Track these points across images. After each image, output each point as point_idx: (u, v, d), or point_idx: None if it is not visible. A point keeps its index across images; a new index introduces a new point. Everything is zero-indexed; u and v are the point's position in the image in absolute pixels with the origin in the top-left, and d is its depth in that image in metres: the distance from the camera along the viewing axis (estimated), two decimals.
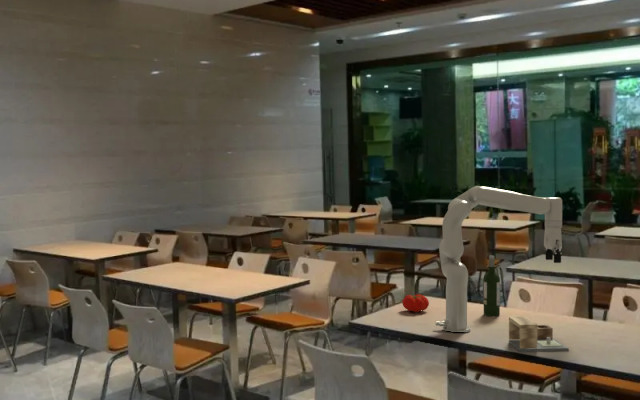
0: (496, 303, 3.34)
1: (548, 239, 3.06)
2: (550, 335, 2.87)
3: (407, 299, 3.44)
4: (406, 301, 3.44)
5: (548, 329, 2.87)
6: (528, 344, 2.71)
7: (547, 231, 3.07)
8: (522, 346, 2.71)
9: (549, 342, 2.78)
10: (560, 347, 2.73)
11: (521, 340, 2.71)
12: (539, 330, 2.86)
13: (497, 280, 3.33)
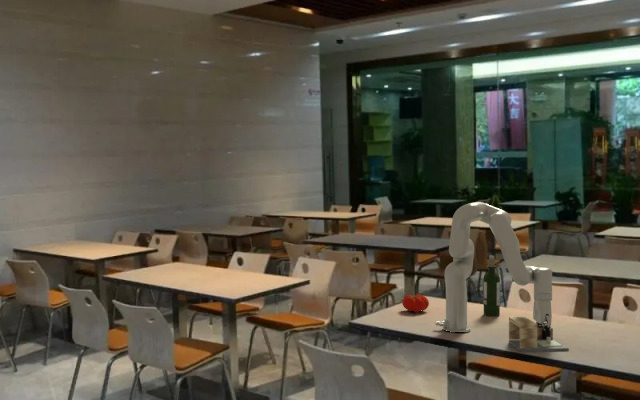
0: (496, 303, 3.34)
1: (537, 312, 2.88)
2: (550, 335, 2.86)
3: (407, 299, 3.44)
4: (406, 301, 3.44)
5: None
6: (528, 344, 2.71)
7: (536, 303, 2.89)
8: (522, 346, 2.71)
9: (549, 342, 2.78)
10: (560, 347, 2.73)
11: (521, 340, 2.71)
12: (539, 330, 2.86)
13: (497, 280, 3.33)
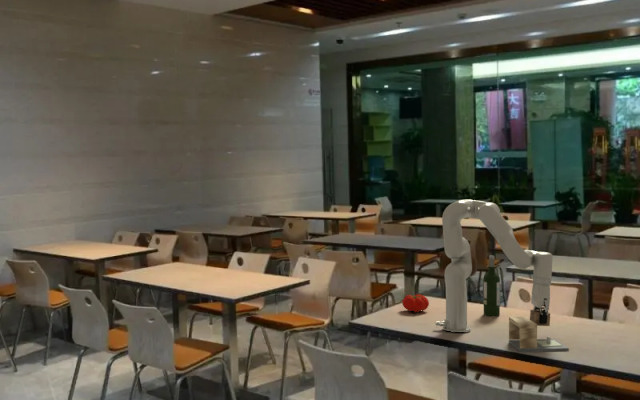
0: (496, 303, 3.34)
1: (536, 296, 2.88)
2: (547, 320, 2.87)
3: (407, 299, 3.44)
4: (406, 301, 3.44)
5: None
6: (528, 344, 2.71)
7: (535, 287, 2.89)
8: (522, 346, 2.71)
9: (549, 342, 2.78)
10: (560, 347, 2.73)
11: (521, 340, 2.71)
12: (537, 314, 2.86)
13: (497, 280, 3.33)
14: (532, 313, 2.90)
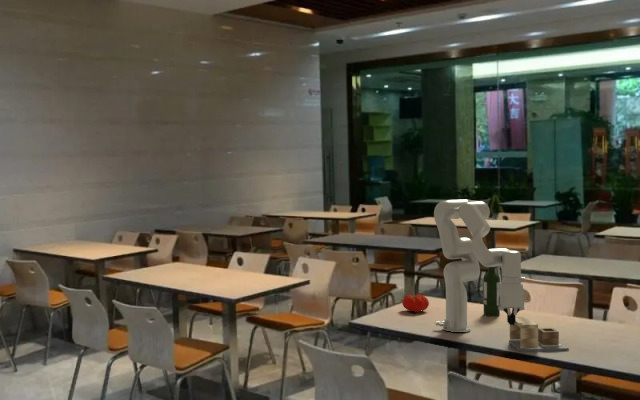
0: (496, 303, 3.34)
1: None
2: (556, 339, 2.76)
3: (407, 299, 3.44)
4: (406, 301, 3.44)
5: (554, 332, 2.76)
6: (529, 344, 2.71)
7: None
8: (523, 346, 2.71)
9: None
10: (560, 347, 2.73)
11: (522, 340, 2.71)
12: (545, 333, 2.75)
13: (497, 280, 3.33)
14: (540, 332, 2.79)
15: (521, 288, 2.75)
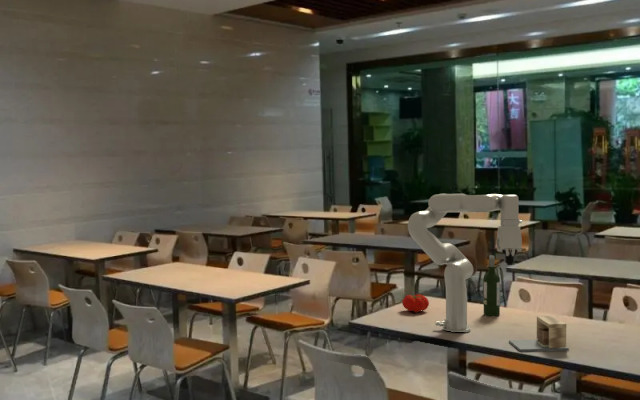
0: (496, 303, 3.34)
1: None
2: None
3: (407, 299, 3.44)
4: (406, 301, 3.44)
5: None
6: (557, 343, 2.72)
7: None
8: (551, 345, 2.72)
9: None
10: None
11: (550, 339, 2.71)
12: (545, 333, 2.75)
13: (497, 280, 3.33)
14: (540, 332, 2.79)
15: (519, 230, 2.90)
